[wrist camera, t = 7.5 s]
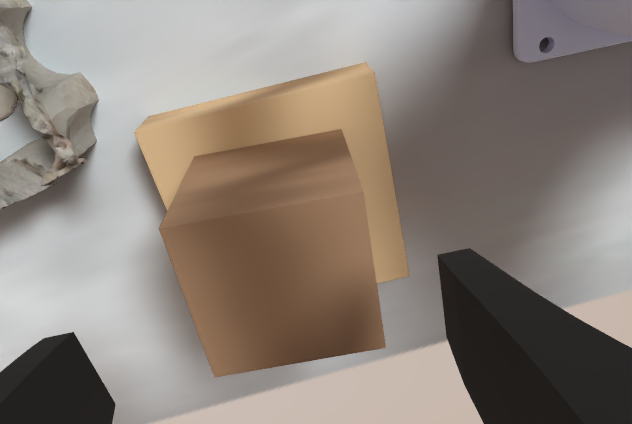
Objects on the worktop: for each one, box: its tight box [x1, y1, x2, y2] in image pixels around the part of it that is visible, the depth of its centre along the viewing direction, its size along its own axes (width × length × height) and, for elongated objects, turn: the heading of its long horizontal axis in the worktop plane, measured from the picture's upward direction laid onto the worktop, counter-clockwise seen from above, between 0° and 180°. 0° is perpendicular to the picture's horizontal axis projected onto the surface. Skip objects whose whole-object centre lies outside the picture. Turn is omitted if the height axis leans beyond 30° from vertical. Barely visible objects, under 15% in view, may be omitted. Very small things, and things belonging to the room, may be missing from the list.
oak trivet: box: [134, 62, 409, 283], centre depth 18 cm, size 8×8×2 cm
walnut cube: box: [159, 129, 386, 377], centre depth 15 cm, size 5×5×5 cm
